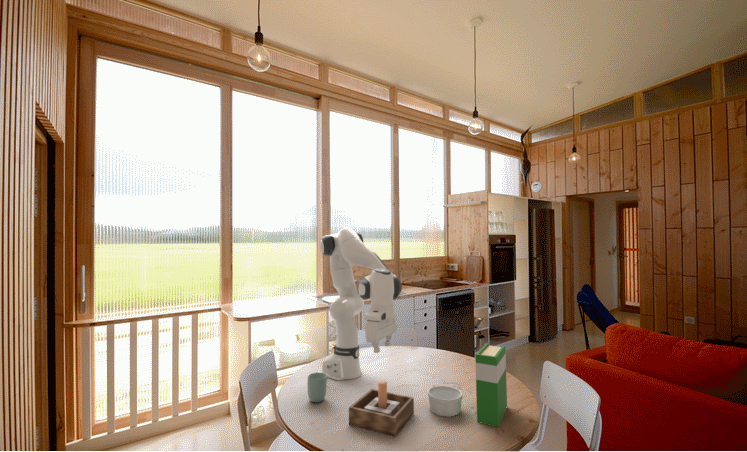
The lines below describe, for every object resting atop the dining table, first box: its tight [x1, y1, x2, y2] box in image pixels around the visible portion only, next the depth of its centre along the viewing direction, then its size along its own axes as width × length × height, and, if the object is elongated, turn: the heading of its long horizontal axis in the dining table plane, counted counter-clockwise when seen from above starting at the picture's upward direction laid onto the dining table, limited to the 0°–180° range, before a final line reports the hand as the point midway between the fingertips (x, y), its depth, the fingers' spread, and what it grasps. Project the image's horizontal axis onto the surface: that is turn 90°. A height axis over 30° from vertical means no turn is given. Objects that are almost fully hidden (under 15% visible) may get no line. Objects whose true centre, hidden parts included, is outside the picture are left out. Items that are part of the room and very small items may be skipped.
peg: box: [377, 380, 388, 409], centre depth 126 cm, size 3×3×12 cm
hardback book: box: [475, 342, 508, 428], centre depth 130 cm, size 18×7×24 cm, turn 149°
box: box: [348, 388, 415, 438], centre depth 126 cm, size 18×18×6 cm
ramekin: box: [427, 385, 463, 418], centre depth 132 cm, size 13×13×7 cm
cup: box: [307, 372, 328, 403], centre depth 141 cm, size 8×8×10 cm
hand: (382, 349), depth 128 cm, fingers open, 8 cm apart
